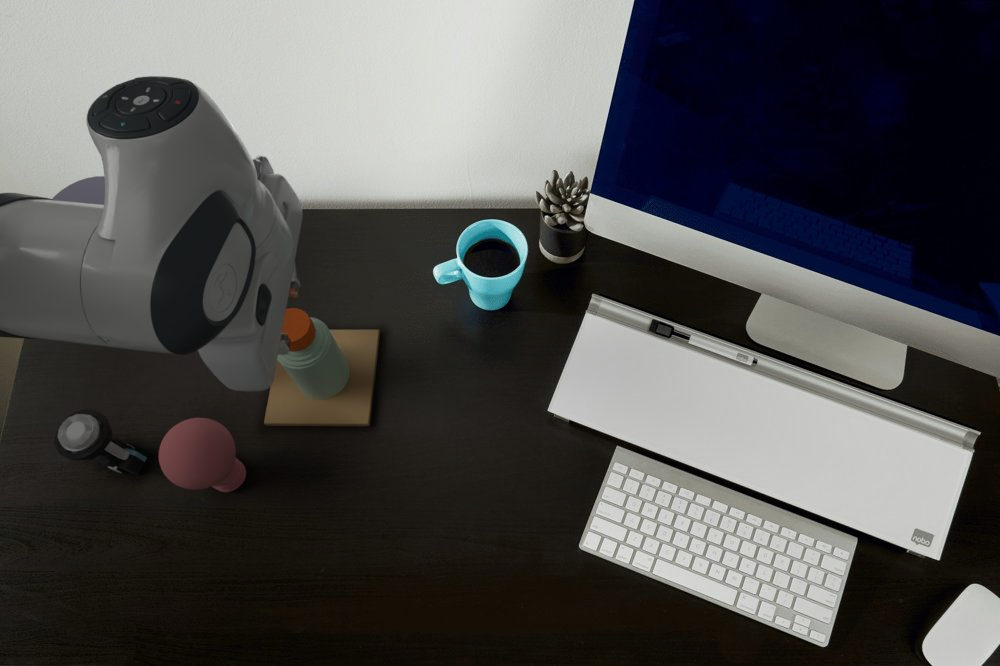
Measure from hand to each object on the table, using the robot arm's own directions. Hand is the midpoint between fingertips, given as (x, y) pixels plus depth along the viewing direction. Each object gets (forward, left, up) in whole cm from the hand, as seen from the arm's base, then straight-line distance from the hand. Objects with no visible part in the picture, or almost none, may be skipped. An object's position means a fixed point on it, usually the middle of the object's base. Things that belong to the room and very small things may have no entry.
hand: (287, 319), depth 73 cm
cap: (0, 0, -1) cm, 1 cm away
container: (+13, +24, -15) cm, 31 cm away
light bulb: (-12, +9, -15) cm, 21 cm away
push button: (-10, +22, -15) cm, 28 cm away
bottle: (0, 0, -14) cm, 14 cm away
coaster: (0, 0, -14) cm, 14 cm away
